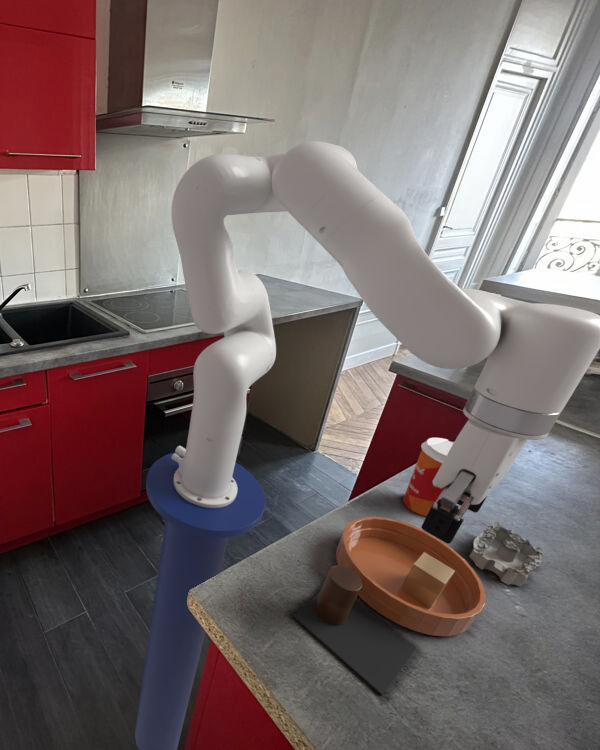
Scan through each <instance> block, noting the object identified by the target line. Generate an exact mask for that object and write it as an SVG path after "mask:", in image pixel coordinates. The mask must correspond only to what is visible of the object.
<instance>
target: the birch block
mask: <svg viewBox="0 0 600 750" xmlns="http://www.w3.org/2000/svg"><path fill="white" fill-rule="evenodd" d="M454 572H455V570H453V569H451V568H450V567H448V566H447V565H445V564H443V563H442V562H440V561H438V560H437V559H435V558H433V557H432V556H430V555H428V554H427V553H425V552H424V553H423V554H422V555H421V556H420V557H419V558H418V559H417V561H416V562H415V563H414V564H413V566H412V568H411V569H410V571H409V573H408V575H407V577H406V579H405V580H404V582H403V584H402V586H401V589H402V590H403V591H405V592H406V593H408V594H409V595H411V596H412V597H414V598H415V599H417V600H418V601H419V602H421V603H422V604H424V605H425V606H427V607H428V608H431V607H432V605H433V604H434V603H435V601H436V600H437V599H438V597H439V596H440V595H441V593H442V592H443V590H444V588H445V587H446V585H447V583H448V582H449V580H450V579H451V577H452V575H453V574H454Z"/></svg>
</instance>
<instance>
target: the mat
mask: <svg viewBox="0 0 600 750" xmlns="http://www.w3.org/2000/svg"><path fill="white" fill-rule="evenodd" d="M320 592H321V589H320V590H319V591H318V592H317V593H316V594H315V595H314V596H313V597H311V598H310V599H309V600H308V601H307V602H306V603H305V604H304V605H303V606H302V607H301V608H300V609H299V610H298V611H297V612H296V613H294V615H293V616H292V618H293V619H294V620H295V621H296V622H297V623H299V624H300V625H301V626H302V627H303V628H304V629H305V630H307V632H308V633H310V634H311V635H312V636H313V637H314V638H316V640H318V641H319V642H320V643H321V644H322V645H323V646H324V647H326V648H327V649H328V650H329V651H330V652H331V653H332V654H334V655H335V656H336V657H337V659H339V660H340V661H341V662H343V664H345V665H346V666H347V667H348V668H349V669H350V670H351V671H353V672H354V674H356V675H357V676H358V677H359V678H360V679H362V680H363V681H364V682H365V683H366V684H367V685H368V686H370V688H371V689H372V690H374V692H376V693H377V694H378V695H379V696H381V697H382V696H383V695H384V694H385V692H386V691H387V690H388V688H389V687H390V685H391V684H392V682H393V681H394V679H395V678H396V677H397V676H398V674H399V673H400V671H401V670H402V668H403V667H404V666H405V665H406V663H407V662H408V660H409V659H410V657H411V656H412V655H413V654H414V652H415V650H416V649H417V647H416V646H414V645H413V644H412V643H411V642H409V641H408V640H407V639H406V638H405V637H403V636H402V635H401V634H399V633H398V632H397V631H396V630H394V629H393V628H391V627H390V626H388V625H387V624H386V623H385V622H383V621H382V620H381V619H380V618H378V617H377V616H376V615H374V614H373V613H372V612H371V611H369V610H368V609H366V608H365V607H364V606H362V605H361V604H360V603H359V602H357V601H356V600H355V602H354V604H353V606H352V608H351V610H350V612H349V614H348V617H347V619H346V621H345V623H344V624H343V625H340V626H334V625H331V624H329V623H327V622H325V621H324V620H323V619H322V618H321V617H320V616H319V615H318V614H317V612H316V609H315V604H316V601H317V599H318V596H319V594H320Z"/></svg>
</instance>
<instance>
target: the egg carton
mask: <svg viewBox="0 0 600 750" xmlns="http://www.w3.org/2000/svg"><path fill="white" fill-rule="evenodd" d="M543 552H544V550H543V548H541V547H536V546H534V545H532V543H531V541H530V539H525V538H523V537H522V536H521V535H520V534H517V533H516V532H515V531H513V530H512V529H508V528H506V527H505V526H503V524H501V523H500V522H498V521H497V520H494V521H493V522H492V523H491V524H490V525H489V526H487V527H486V528H485V529H484V530H483V531H481V533H479V534H478V535H477V536H476V537H475V538H474V539H473V549H472V551H471V552H470V554H469V557H468V558H470V559H471V560H472V561H473V562H474V564H475V566H476V567H477V568H479V569H480V570H488V571H491V572H492V573H495V574H496V575H497V576H498V577H499V579H500V581H501V582H502V583H504V584H505V585H507V586H509V585H513V586H517V587H521V586H522V585H523V584H525V582H527V579H528V578H529V575H530V573H531V572H532V571H533V570H536V569H537V568H538V567H539V566H541V564H542V561H543V554H544V553H543Z"/></svg>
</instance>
